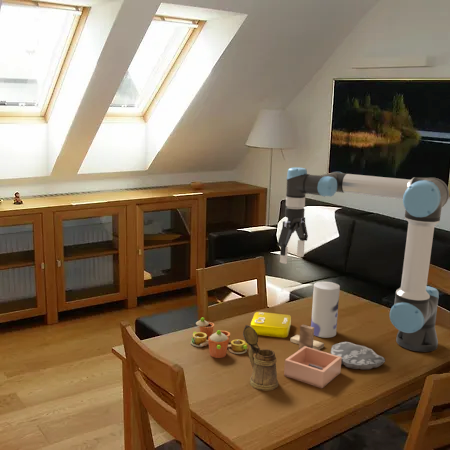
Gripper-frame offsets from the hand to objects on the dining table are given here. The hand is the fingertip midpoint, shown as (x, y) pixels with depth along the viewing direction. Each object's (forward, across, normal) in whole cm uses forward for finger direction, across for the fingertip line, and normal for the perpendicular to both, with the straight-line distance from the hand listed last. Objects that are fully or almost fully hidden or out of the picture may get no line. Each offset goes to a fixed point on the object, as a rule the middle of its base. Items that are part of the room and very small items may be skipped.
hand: (292, 259), depth 232 cm
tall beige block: (+28, +23, +20) cm, 42 cm away
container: (+28, -2, +15) cm, 32 cm away
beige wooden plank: (+28, +12, +15) cm, 34 cm away
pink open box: (+28, +33, +28) cm, 52 cm away
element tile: (+28, +8, -3) cm, 30 cm away
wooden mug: (+28, +49, +17) cm, 59 cm away
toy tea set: (+28, +35, -11) cm, 47 cm away
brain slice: (+28, +14, +35) cm, 47 cm away
